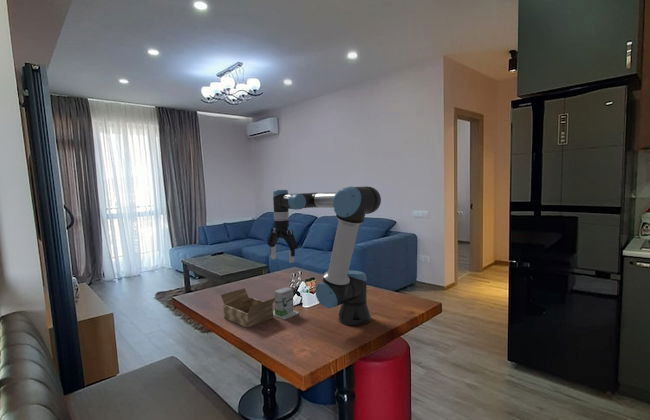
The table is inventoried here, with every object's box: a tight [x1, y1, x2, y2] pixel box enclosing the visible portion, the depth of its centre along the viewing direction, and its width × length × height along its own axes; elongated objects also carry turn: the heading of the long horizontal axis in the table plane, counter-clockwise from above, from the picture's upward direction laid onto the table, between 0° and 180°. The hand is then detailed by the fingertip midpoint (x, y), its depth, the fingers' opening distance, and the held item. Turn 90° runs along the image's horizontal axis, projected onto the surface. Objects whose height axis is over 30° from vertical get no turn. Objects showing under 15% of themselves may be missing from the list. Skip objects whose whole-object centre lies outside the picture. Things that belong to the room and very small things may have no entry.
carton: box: [220, 287, 275, 329], centre depth 166 cm, size 25×15×11 cm, turn 49°
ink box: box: [273, 286, 295, 316], centre depth 169 cm, size 9×5×12 cm, turn 139°
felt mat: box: [273, 309, 300, 321], centre depth 170 cm, size 12×10×1 cm
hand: (282, 260), depth 176 cm, fingers open, 13 cm apart
